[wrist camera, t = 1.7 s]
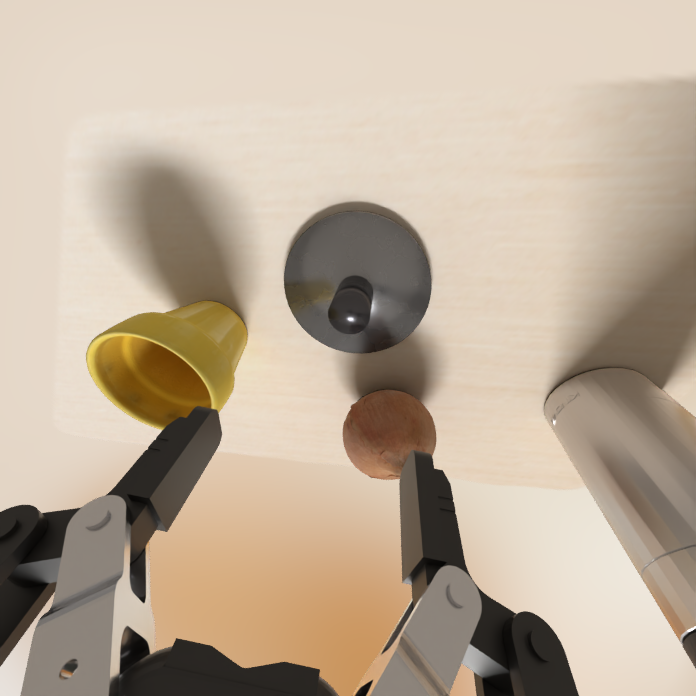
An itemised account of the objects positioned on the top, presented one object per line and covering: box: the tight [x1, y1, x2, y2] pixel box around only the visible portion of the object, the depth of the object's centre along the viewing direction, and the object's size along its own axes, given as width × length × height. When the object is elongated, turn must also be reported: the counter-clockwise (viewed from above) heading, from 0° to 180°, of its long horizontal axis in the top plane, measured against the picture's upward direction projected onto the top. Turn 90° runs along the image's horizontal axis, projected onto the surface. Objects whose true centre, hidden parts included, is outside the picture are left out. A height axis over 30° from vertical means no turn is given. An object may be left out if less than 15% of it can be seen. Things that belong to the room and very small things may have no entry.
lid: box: [284, 211, 431, 353], centre depth 23 cm, size 13×13×6 cm
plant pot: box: [86, 301, 247, 430], centre depth 25 cm, size 10×10×10 cm
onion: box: [343, 390, 436, 480], centre depth 29 cm, size 10×9×10 cm
